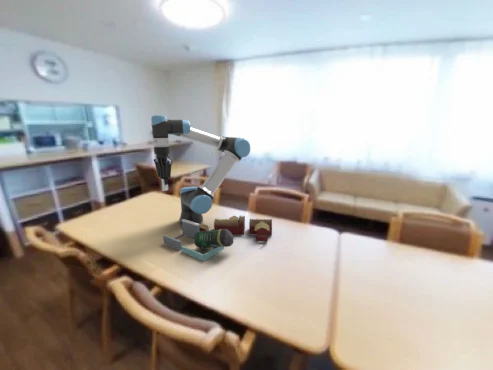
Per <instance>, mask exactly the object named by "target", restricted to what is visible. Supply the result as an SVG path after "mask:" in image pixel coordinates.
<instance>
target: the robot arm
mask: <svg viewBox="0 0 493 370" xmlns="http://www.w3.org/2000/svg"><path fill="white" fill-rule="evenodd" d="M150 120H151V128H152V129H151V131H152V140H153V141H152V142H153V146H154V147H153V151H154V152H153V153H154V154H155V155H156V157H155V158H153V163H154V165H155V168H156V174H157V177H158V178H159V179H160V181H161V189H162V192H166V191H168V190H169V178H171V176H172V175H171V174H172V165H173V159H170V157H169V154H170V152H171V151H170V146H169V145H170V139H169V135H173V136H176V137H179V138H183V139H187V140H189V141H193V142H195V143H199V144H201V145H205V146H209V147H212V148H214V149H215V150H216V151H218V152H222V153H223V154H224V155H223V157H221V158H220V160H219V161H218V162H217V164H216V166H215V167H214V168H213V170H212V172H210V174H209V175H208V177H207V178H206V180H205V181H204V182H203V184H202V185H199V186H196V185H195V186H194V185H193V186H187V187H186V186H185V187H181V188H180V190H179V194H180V195H179V197H180V209H181V212H180V216H179V224H180V225H182V219H185V220H189V221H192V222H195V223H198V224H199V225H200V224H202V223H203V222H204V217H203V214H207V213H208V212H210V210H211V209H212V206H213V200H214V199H215V196H214V195H215V193H216V192H217V191H218V188H220V186H221V185H222V183H223V182H224V180H225V179H226V177H227V176H228V175H229V173H230V171H231V170H232V168H233V167H234V166H235V165H236V164H238V163H240V161H242V159H243V158H247V157H248V156H249V154H251V153H250V152H251V144H250V142H249V140H248V139H247V138H244V137H234V136H233V137H231V136H230V137H229V136H222V135H216V134H212V133H210V132H206V131H203V130H201V129H197V128H195V127H192V125H191V122H190V121H189V120H188V119H168V118H167V115H162V114H160V115H157V114H155V115H152V116H151V118H150Z"/></svg>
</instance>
